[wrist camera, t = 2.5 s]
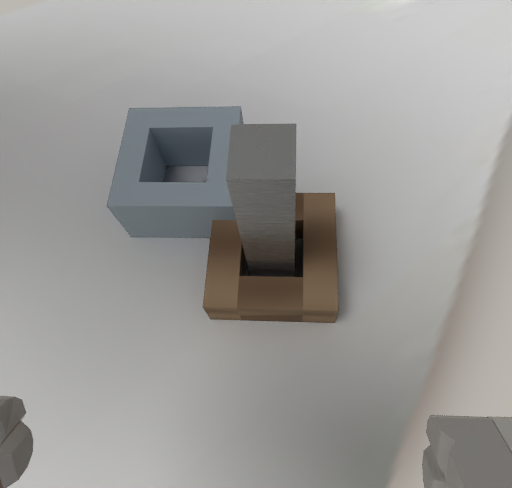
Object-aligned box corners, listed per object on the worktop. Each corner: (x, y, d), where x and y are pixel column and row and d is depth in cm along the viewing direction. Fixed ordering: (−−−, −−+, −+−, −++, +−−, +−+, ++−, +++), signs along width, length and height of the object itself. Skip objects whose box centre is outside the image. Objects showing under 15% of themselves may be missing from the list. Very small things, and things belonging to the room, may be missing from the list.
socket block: (334, 322, 30) (338, 310, 28) (210, 319, 31) (202, 307, 29) (331, 212, 34) (334, 193, 32) (221, 212, 35) (215, 192, 32)
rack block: (240, 238, 34) (232, 206, 29) (130, 236, 35) (106, 205, 30) (246, 146, 38) (240, 106, 33) (148, 147, 39) (129, 108, 34)
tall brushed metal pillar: (294, 283, 32) (295, 178, 19) (252, 282, 32) (225, 179, 20) (294, 245, 33) (296, 123, 21) (254, 244, 34) (230, 124, 21)
